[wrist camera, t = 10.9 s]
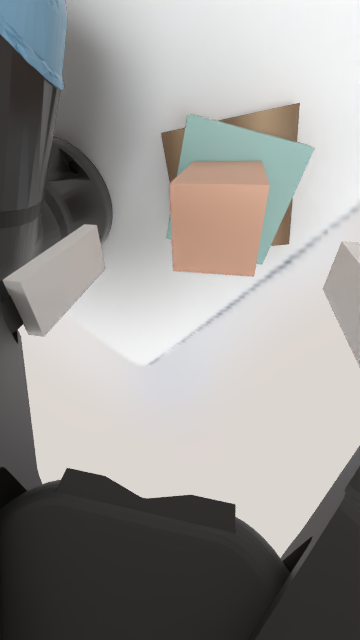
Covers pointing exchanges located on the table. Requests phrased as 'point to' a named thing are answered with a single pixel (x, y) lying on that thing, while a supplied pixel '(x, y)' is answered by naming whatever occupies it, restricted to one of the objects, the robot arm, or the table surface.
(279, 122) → the block bottom
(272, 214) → the block top
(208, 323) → the table surface
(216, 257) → the tall block
